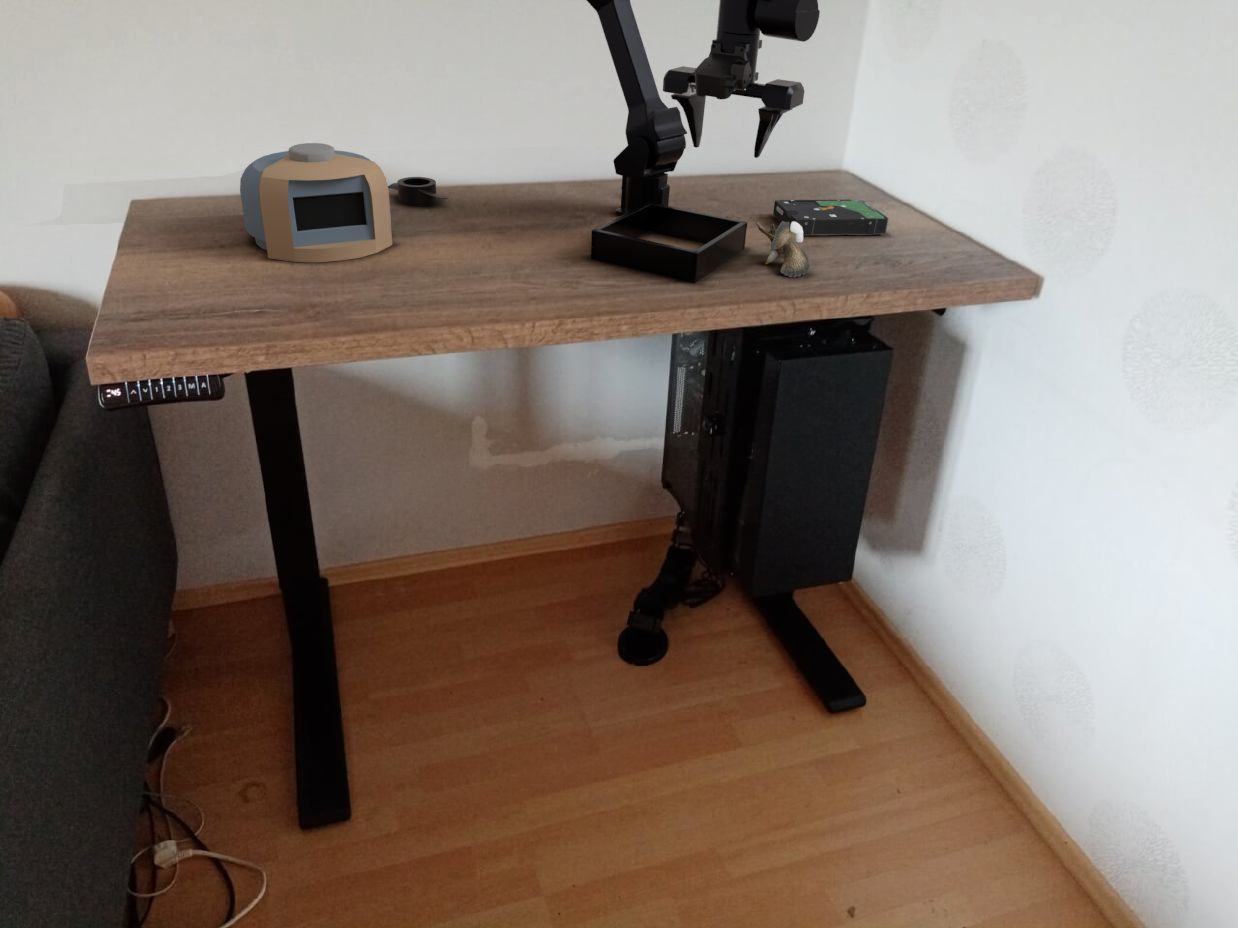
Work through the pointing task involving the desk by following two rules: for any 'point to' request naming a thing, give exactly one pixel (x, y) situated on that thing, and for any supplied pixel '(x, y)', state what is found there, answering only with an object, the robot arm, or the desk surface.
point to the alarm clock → (316, 204)
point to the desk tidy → (627, 250)
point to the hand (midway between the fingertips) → (726, 152)
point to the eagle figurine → (787, 247)
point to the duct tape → (416, 191)
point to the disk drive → (831, 216)
